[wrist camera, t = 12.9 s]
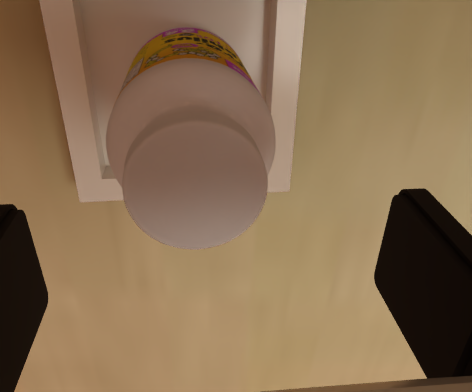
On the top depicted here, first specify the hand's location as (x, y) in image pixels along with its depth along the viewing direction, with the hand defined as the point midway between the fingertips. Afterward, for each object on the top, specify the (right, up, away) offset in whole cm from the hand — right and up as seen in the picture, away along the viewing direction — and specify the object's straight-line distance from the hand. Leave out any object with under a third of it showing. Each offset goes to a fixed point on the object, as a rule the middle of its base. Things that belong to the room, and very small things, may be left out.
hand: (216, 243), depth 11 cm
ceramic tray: (-3, +8, +14) cm, 17 cm away
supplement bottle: (-2, +8, +14) cm, 16 cm away
